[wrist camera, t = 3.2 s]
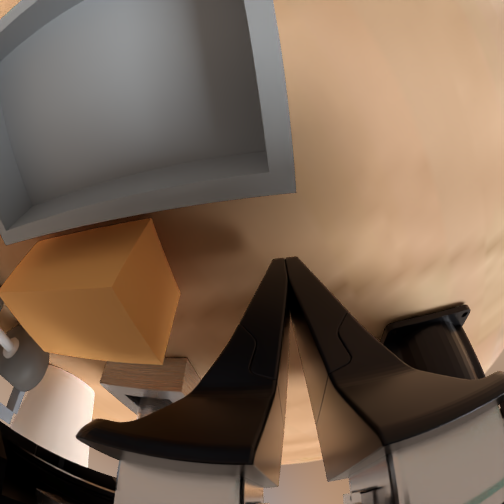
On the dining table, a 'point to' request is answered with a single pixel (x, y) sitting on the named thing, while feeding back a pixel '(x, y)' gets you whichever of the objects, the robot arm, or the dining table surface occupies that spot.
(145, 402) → the pin
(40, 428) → the foam cup
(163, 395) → the pin bracket
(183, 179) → the tray
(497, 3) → the dining table surface
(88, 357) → the block
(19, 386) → the grey wheeled cart
